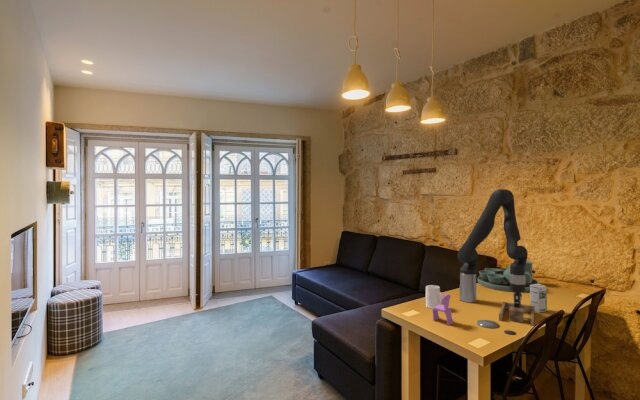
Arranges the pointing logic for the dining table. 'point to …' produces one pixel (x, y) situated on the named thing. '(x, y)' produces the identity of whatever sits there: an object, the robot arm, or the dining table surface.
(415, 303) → the dining table surface
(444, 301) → the toy chair
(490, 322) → the slate coaster
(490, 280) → the tea set
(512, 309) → the walnut block
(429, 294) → the mug
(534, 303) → the syrup box
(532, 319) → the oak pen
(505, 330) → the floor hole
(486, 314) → the dining table surface
